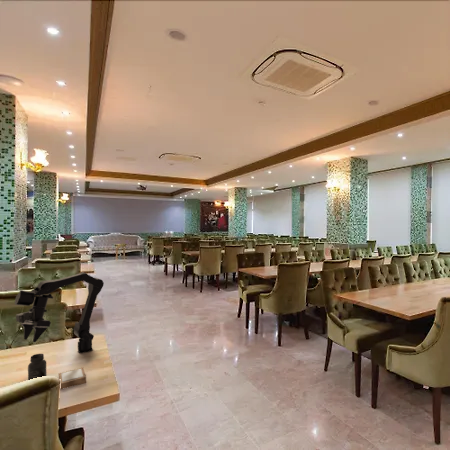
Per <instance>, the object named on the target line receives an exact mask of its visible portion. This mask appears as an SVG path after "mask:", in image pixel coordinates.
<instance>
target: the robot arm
mask: <svg viewBox="0 0 450 450" xmlns="http://www.w3.org/2000/svg"><path fill="white" fill-rule="evenodd" d="M79 282H85V283H87V284H88V285H87V289H88V290H87V291H88V294H87V298H86V301H85V304H84V307H83V310H82V312H81V313H82V314H81V316H80V319H79V321H78V322H77V321H75V322H74V327H73V329H72V330H73V333H74V335H75V336H76V337H77V338H78V341H77V351H78V352H79V354H82V353H87V352H92V351H93V350H94V349H93V340H94V337H95V336H94V334H93V333H90V329H91V323H90V322H91V321H90V320H91V318H92V314H93V310H94V308H95V303H96V300H97V297H98V295H99V294H100V292H101V291H102V289H103V287H104V281H103V280H102V279H101V278H98V277H94V276H92V275H90V274H88V273H86V272H83V271H81V272H80V273H77V274H73V275H69V276H65V277H61V278H59V279H47V280H41V281H40V282H39V283H38V285H37V286H36V287H35V288H33V289H32V290H31V291H28V290H23V289H22V290H21V289H20V290H19V292H18V294H17V295H16V296H15V301H14V305H15V306H27V307H30V306H31V305H32V307H31V308H29V309H28V311H24V312H20V313H16V315H15V320H16V322H18V323H20V326H22V327H23V340H28V338H29V337H30V334H31V333H32V331H33V330H34V333H33V337H32V338H33V339H32V342H33V343H37V341H38V340H39V338H40V337H41V336H42V335H43V334H44V332H45V331H46V330H47V329H48V328H50V327H51V323H52V322H51V321H50V320H48V319H45V318H44V317H45V313H47V311H48V309H46V308H47V305H48V301H49V299H51V300H52V299H54V296H53V295H52V293H53V292H55V291H57V290H59V289H60V288H62V287H66V286H69V285H72V284H73V285H74V284H76V283H79Z"/></svg>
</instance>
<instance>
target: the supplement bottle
mask: <svg viewBox="0 0 450 450" xmlns="http://www.w3.org/2000/svg"><path fill="white" fill-rule="evenodd" d="M47 373H48V372H47V360H46V359H45V355H44V353H36V354H33V355H31V356H30V362H29V363H28V365H27V381H28V380H30V379H33V378H37V377H42V376H47Z"/></svg>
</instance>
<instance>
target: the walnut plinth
mask: <svg viewBox="0 0 450 450" xmlns="http://www.w3.org/2000/svg"><path fill="white" fill-rule="evenodd" d="M59 379H61V390H64V389H67V387H68V388H71V387H75V386H78V385H82V384H86V383H87V376H86V372H85V369H84V367H79V368H74V369H70V370H66V371H62V372H59V373H58V380H59ZM63 388H64V389H63Z"/></svg>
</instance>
